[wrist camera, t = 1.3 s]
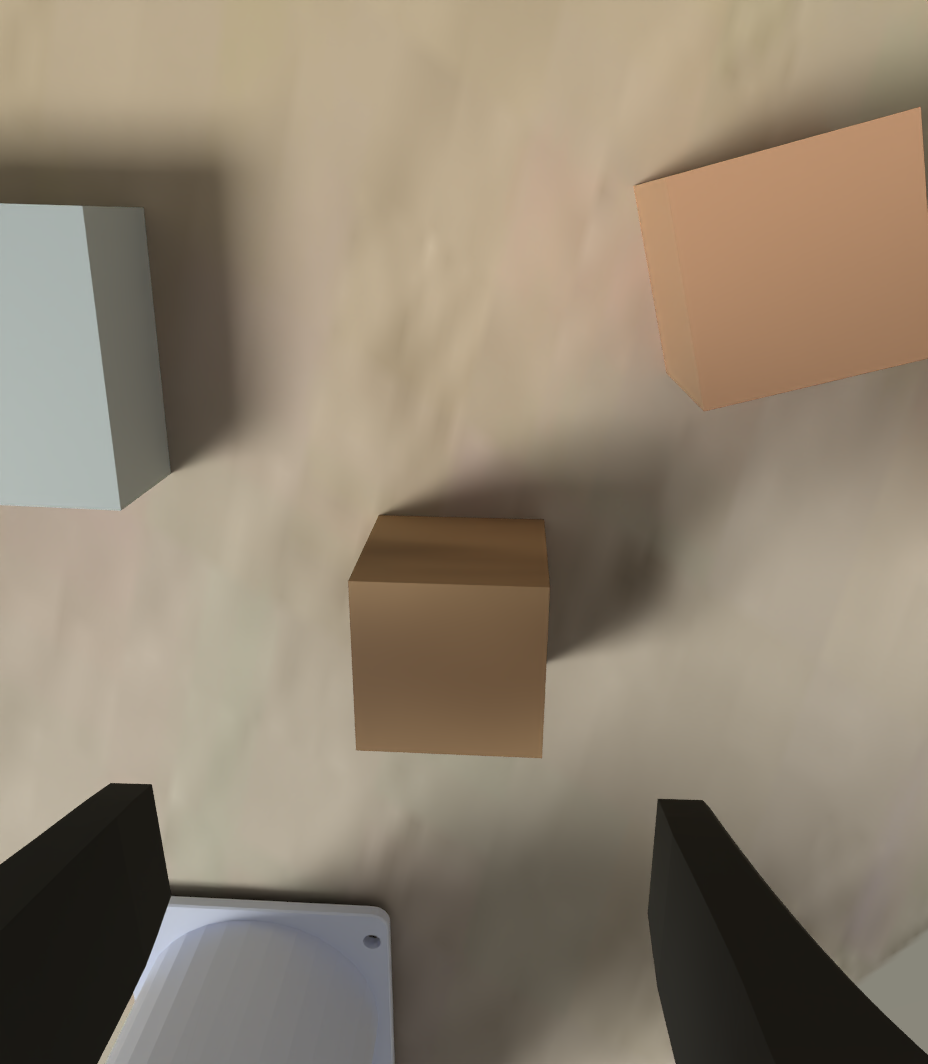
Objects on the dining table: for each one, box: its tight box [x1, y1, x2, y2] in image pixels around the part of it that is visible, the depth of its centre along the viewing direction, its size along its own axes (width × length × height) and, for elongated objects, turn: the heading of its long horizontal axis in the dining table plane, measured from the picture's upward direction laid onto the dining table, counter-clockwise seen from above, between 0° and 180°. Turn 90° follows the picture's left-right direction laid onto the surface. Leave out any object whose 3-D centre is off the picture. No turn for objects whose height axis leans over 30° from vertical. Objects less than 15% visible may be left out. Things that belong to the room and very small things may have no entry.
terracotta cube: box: [634, 107, 928, 411], centre depth 16 cm, size 4×4×4 cm
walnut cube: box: [348, 515, 550, 758], centre depth 19 cm, size 4×4×4 cm
